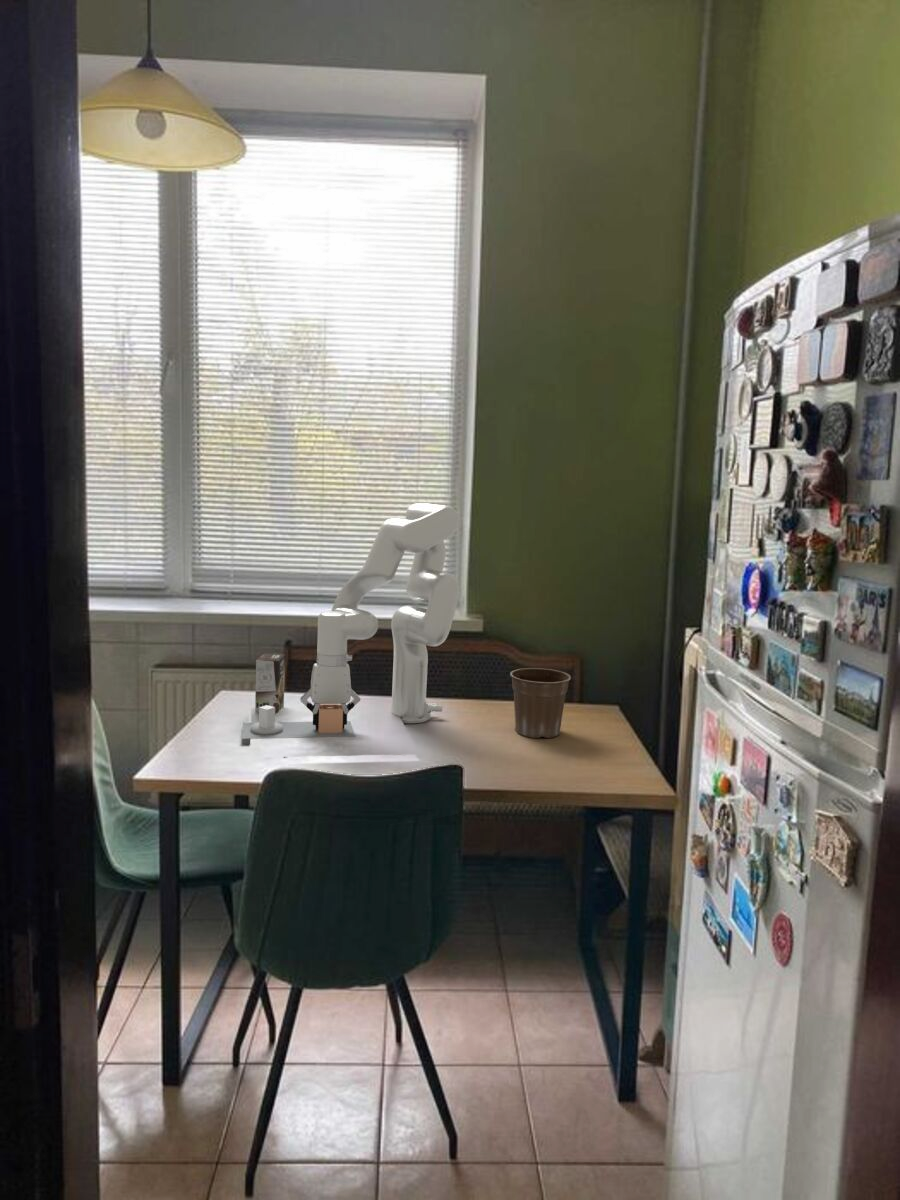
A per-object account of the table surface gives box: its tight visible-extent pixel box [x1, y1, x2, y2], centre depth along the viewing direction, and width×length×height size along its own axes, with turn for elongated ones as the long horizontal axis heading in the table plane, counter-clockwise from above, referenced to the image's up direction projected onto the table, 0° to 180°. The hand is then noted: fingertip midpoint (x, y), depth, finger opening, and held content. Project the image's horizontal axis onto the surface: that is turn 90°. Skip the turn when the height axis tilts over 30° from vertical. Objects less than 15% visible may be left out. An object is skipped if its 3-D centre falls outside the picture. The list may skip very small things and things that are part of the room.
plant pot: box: [509, 667, 572, 739], centre depth 236 cm, size 16×16×16 cm
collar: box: [318, 704, 343, 733], centre depth 225 cm, size 6×6×6 cm
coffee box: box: [254, 653, 286, 714], centre depth 241 cm, size 9×6×16 cm
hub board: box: [241, 705, 356, 745], centre depth 224 cm, size 28×13×8 cm, turn 102°
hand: (329, 726), depth 226 cm, fingers closed on collar, 6 cm apart
